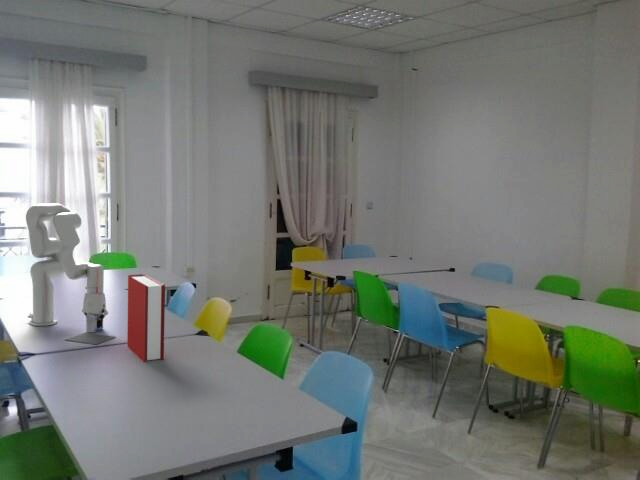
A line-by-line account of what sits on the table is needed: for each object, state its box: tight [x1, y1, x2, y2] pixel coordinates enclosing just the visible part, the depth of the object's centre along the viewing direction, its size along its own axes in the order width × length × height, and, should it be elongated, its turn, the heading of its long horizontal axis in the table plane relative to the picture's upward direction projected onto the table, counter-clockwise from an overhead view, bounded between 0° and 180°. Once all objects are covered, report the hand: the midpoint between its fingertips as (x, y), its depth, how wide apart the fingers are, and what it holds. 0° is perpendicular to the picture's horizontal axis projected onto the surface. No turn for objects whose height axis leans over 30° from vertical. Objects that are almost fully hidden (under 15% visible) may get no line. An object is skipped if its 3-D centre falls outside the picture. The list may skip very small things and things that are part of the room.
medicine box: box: [85, 314, 104, 334], centre depth 291 cm, size 8×4×9 cm, turn 168°
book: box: [126, 273, 166, 363], centre depth 258 cm, size 27×8×32 cm, turn 33°
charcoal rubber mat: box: [64, 332, 117, 346], centre depth 276 cm, size 17×14×1 cm
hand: (94, 326), depth 291 cm, fingers closed on medicine box, 4 cm apart
